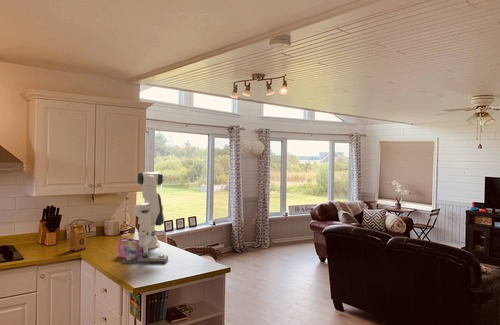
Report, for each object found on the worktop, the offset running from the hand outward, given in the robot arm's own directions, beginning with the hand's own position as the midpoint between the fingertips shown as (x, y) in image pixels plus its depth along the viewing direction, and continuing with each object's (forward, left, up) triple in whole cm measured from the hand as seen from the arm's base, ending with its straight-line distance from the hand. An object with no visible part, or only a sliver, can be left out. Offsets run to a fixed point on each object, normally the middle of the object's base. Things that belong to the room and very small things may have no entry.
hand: (145, 250), depth 276 cm
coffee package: (-39, -70, -9) cm, 81 cm away
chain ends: (0, 0, -9) cm, 9 cm away
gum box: (-14, -16, -9) cm, 23 cm away
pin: (0, 0, -5) cm, 5 cm away
